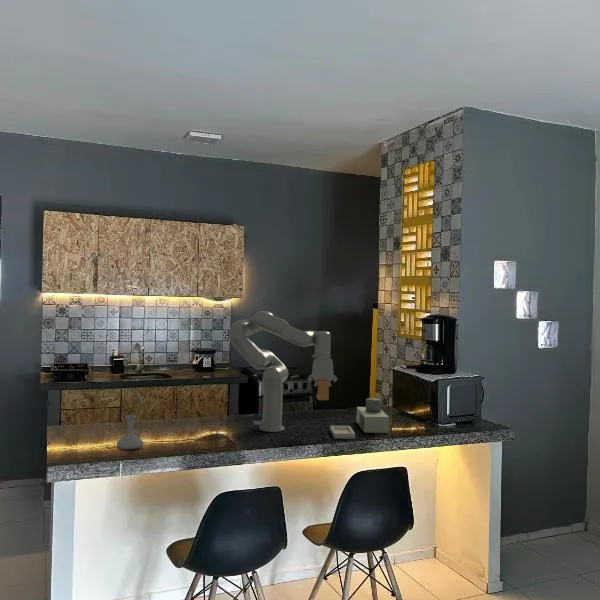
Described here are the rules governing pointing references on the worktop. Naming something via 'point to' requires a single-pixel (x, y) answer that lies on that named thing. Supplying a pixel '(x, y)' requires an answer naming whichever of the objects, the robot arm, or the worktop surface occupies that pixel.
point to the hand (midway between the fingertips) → (322, 393)
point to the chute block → (323, 390)
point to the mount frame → (342, 432)
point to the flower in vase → (131, 429)
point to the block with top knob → (372, 417)
